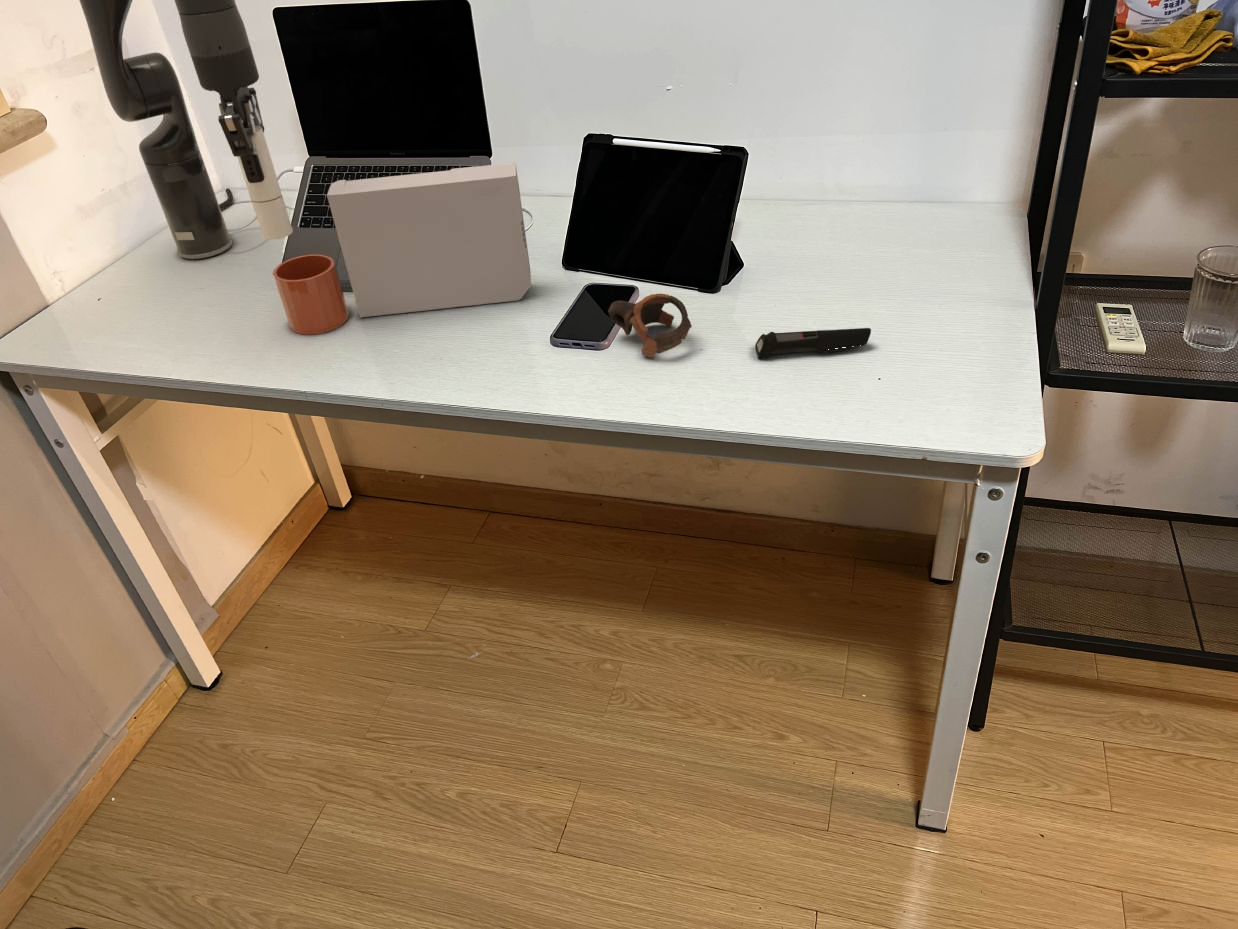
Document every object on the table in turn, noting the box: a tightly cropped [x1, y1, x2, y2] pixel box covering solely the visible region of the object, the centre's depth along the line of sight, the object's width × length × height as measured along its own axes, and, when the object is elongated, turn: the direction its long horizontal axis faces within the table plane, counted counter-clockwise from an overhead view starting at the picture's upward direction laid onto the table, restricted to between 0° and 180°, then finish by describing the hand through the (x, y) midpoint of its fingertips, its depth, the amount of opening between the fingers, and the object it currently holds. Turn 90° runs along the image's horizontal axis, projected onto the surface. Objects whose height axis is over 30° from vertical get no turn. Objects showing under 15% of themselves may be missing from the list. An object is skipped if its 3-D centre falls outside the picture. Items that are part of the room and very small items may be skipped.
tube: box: [236, 125, 294, 241], centre depth 131 cm, size 4×4×15 cm
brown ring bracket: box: [607, 293, 693, 359], centre depth 131 cm, size 12×10×8 cm
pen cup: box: [272, 253, 350, 336], centre depth 141 cm, size 9×9×9 cm
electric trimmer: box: [754, 327, 872, 360], centre depth 127 cm, size 4×16×3 cm, turn 91°
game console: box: [326, 161, 532, 318], centre depth 141 cm, size 6×27×20 cm, turn 96°
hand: (259, 174), depth 130 cm, fingers closed on tube, 4 cm apart
